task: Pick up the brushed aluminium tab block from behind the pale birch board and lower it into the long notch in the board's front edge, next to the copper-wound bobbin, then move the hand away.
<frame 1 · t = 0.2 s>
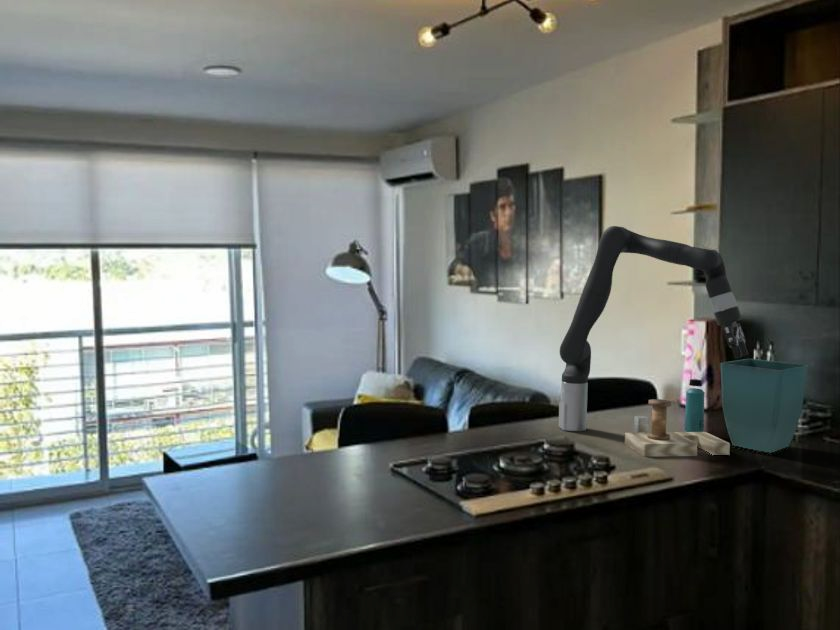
hand: (741, 356, 240), 31 cm above the worktop, tool tilted 20°, fingers open, 8 cm apart
flower pot: (759, 449, 247), on the worktop
notched board: (675, 449, 244), on the worktop
bobbin: (658, 437, 243), resting on notched board
beverage bottle: (693, 436, 266), on the worktop
tab peg: (640, 440, 257), on the worktop
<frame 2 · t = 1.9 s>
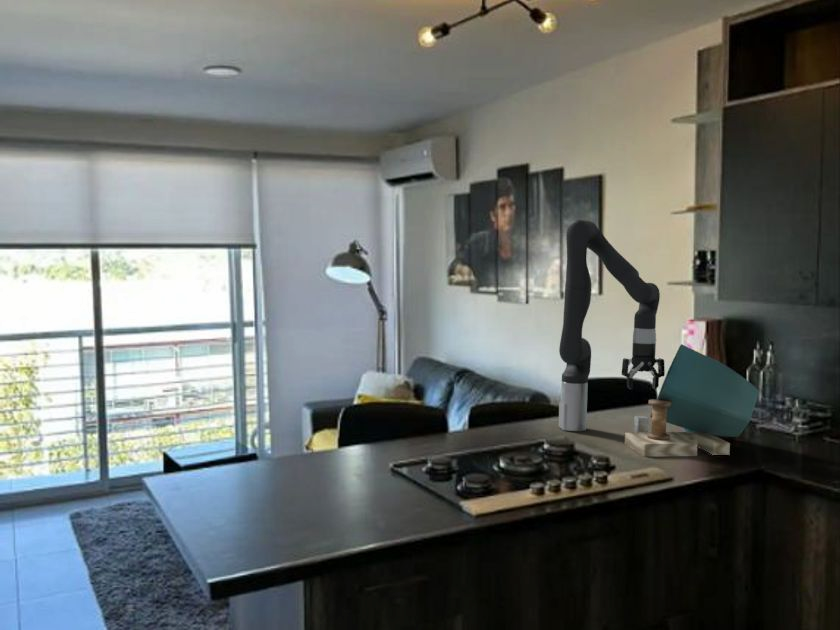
hand: (642, 388, 256), 18 cm above the worktop, tool pointing down, fingers open, 8 cm apart
flower pot: (749, 415, 246), point 11 cm above the worktop, touching beverage bottle, bobbin, notched board
beverage bottle: (693, 436, 266), on the worktop, touching flower pot
everything else where it was.
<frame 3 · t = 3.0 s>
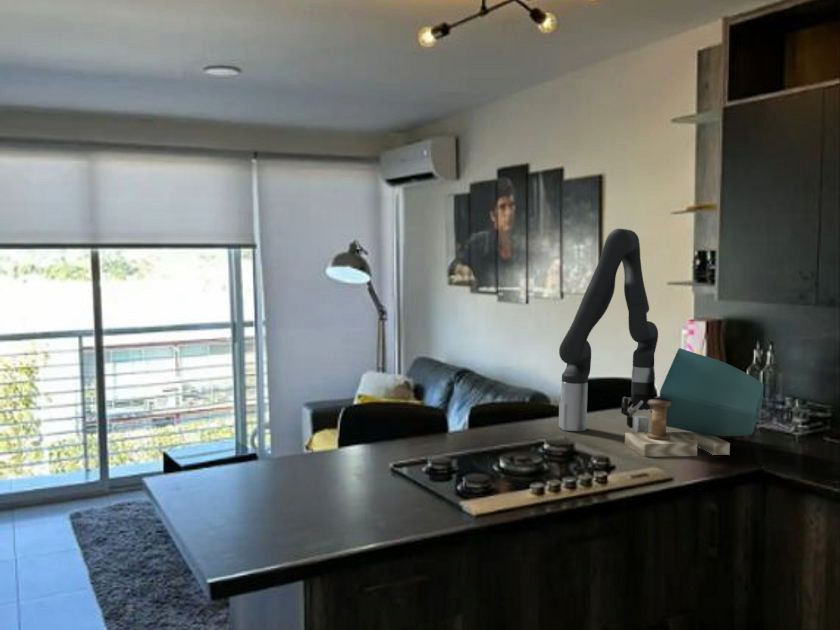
hand: (642, 427, 257), 4 cm above the worktop, tool pointing down, fingers open, 8 cm apart
flower pot: (758, 410, 240), point 14 cm above the worktop, touching beverage bottle, bobbin, hand
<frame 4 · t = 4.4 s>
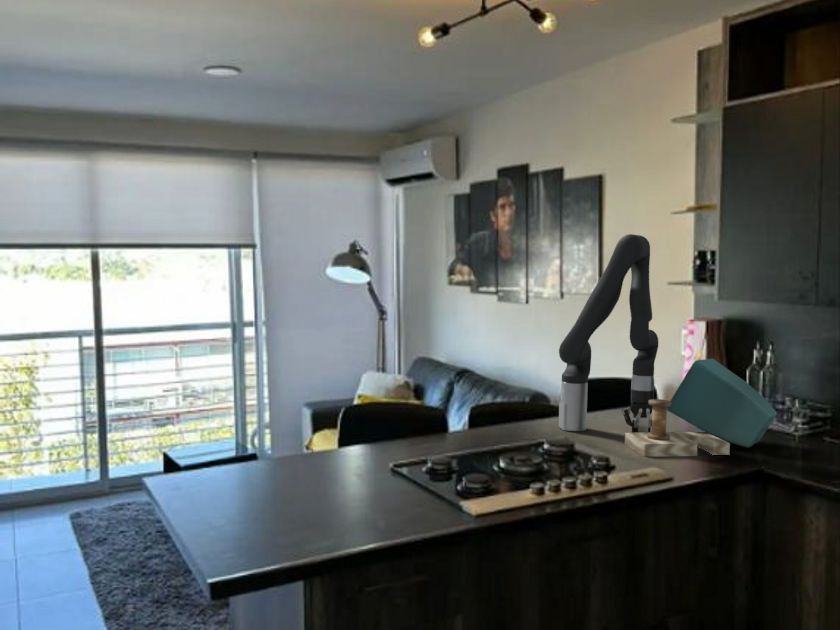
hand: (640, 437, 257), 1 cm above the worktop, tool pointing down, fingers closed on tab peg, 3 cm apart
flower pot: (764, 430, 247), point 6 cm above the worktop, touching beverage bottle, notched board
beverage bottle: (696, 424, 269), point 3 cm above the worktop, touching flower pot
tab peg: (640, 440, 257), on the worktop, touching gripper
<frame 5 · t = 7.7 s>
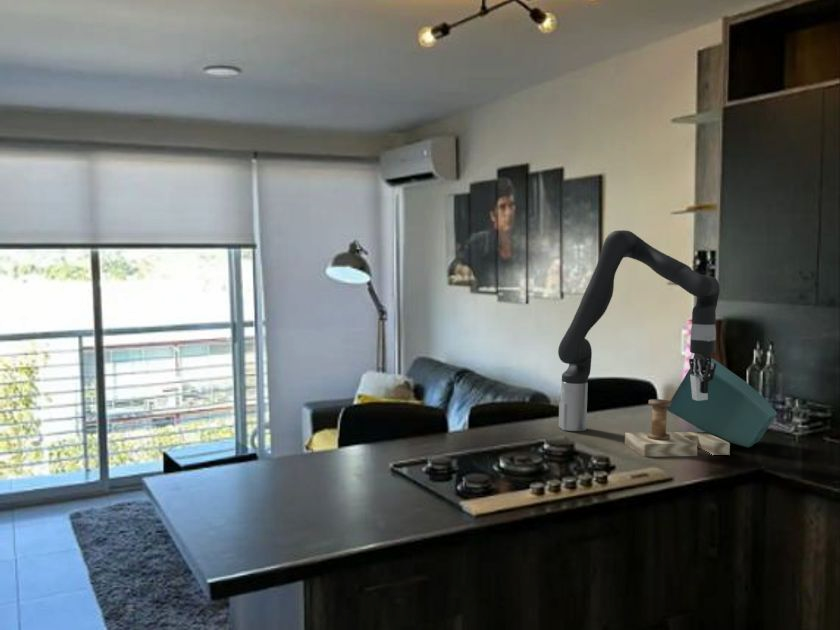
hand: (701, 391, 240), 20 cm above the worktop, tool pointing down, fingers closed on tab peg, 3 cm apart
tab peg: (700, 399, 240), point 17 cm above the worktop, tilted 8°, touching gripper
everything else where it was.
when the fingers open (3 cm above the worktop, at t = 11.0 s): tab peg stays where it is, resting in notched board.
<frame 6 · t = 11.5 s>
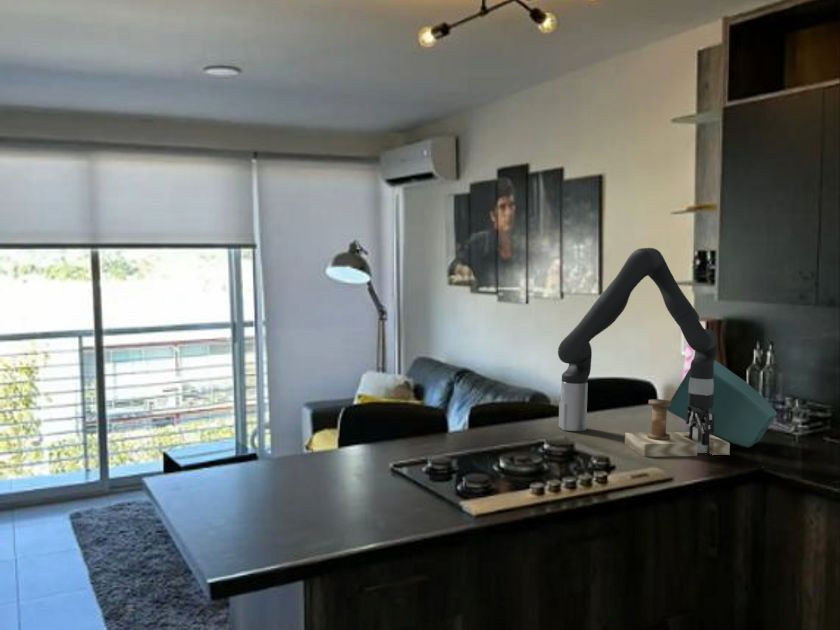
hand: (698, 442, 241), 3 cm above the worktop, tool pointing down, fingers open, 8 cm apart
tab peg: (699, 452, 241), resting in notched board
everything else where it was.
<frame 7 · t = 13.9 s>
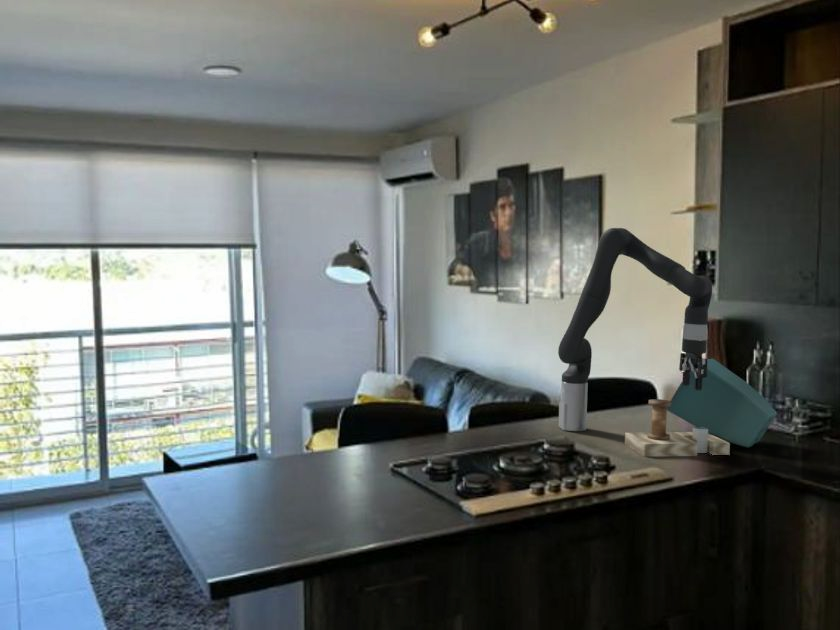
hand: (691, 387, 243), 20 cm above the worktop, tool pointing down, fingers open, 8 cm apart
nothing on the worktop moved.
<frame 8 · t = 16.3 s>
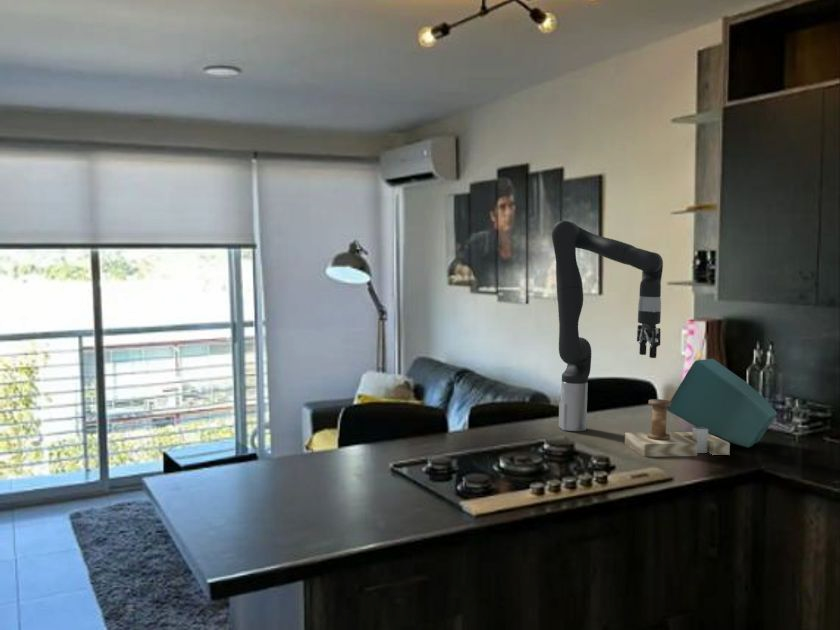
hand: (647, 356, 262), 28 cm above the worktop, tool pointing down, fingers open, 8 cm apart
nothing on the worktop moved.
at the end: tab peg inside the target area (0.9 cm from its centre), resting in notched board; tab peg tilted 0°; the gripper is holding nothing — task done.
